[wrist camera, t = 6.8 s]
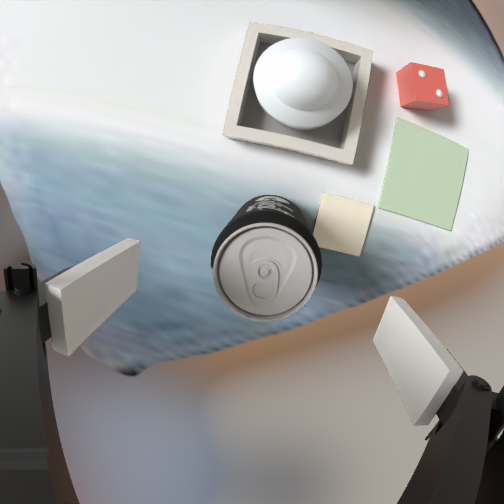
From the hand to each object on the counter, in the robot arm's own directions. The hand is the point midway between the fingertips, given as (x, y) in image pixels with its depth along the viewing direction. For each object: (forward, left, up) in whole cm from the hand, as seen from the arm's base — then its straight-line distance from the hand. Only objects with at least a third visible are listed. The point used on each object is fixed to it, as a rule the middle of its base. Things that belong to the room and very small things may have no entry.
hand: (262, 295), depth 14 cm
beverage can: (0, 0, -14) cm, 14 cm away
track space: (-2, +7, -14) cm, 15 cm away
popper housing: (-13, 0, -14) cm, 19 cm away
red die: (-17, +11, -14) cm, 25 cm away
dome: (-13, 0, -12) cm, 18 cm away
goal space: (-9, +14, -14) cm, 22 cm away
